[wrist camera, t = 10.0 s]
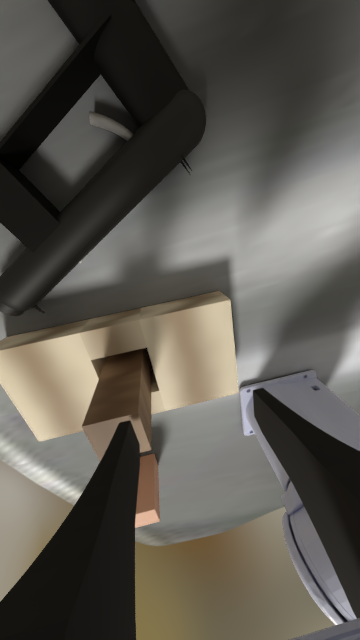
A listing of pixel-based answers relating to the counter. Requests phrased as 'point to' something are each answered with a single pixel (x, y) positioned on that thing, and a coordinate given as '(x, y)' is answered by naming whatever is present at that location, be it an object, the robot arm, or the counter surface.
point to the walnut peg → (121, 401)
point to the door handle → (62, 94)
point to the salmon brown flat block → (147, 492)
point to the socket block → (114, 338)
